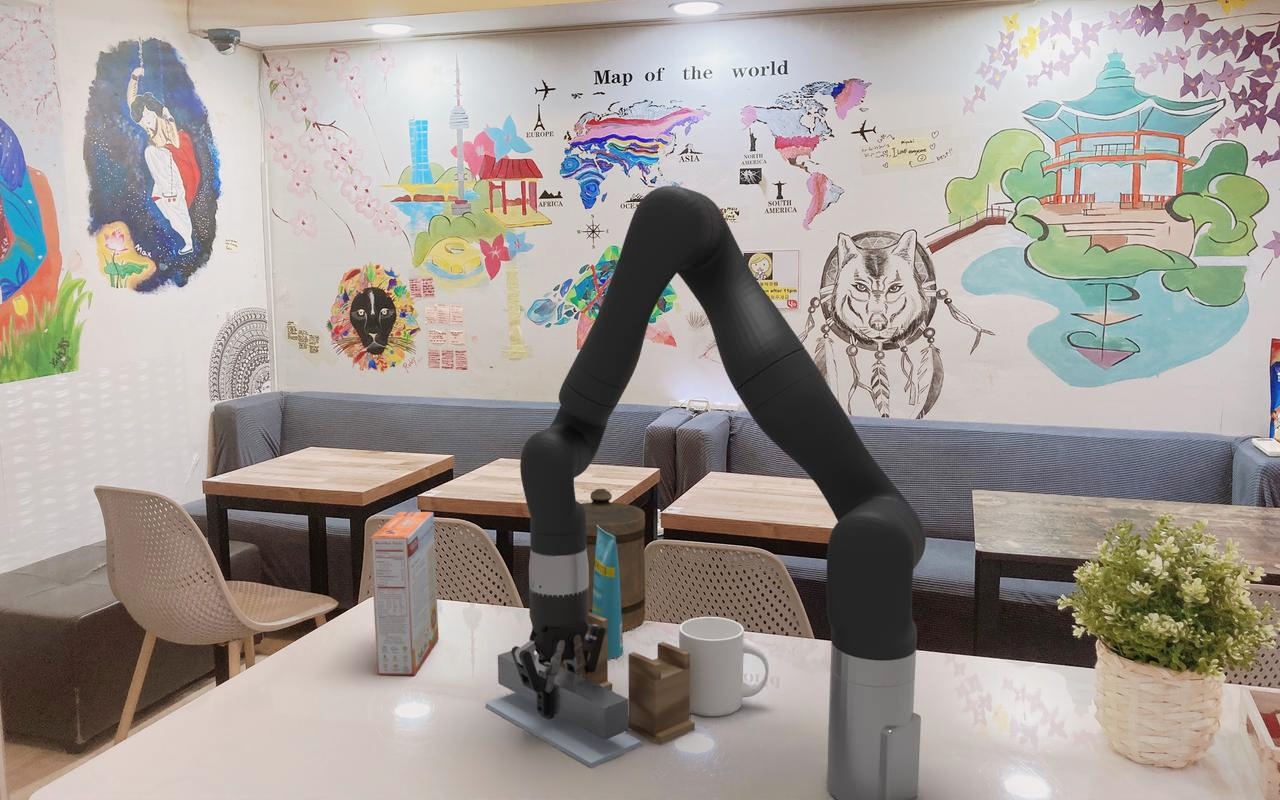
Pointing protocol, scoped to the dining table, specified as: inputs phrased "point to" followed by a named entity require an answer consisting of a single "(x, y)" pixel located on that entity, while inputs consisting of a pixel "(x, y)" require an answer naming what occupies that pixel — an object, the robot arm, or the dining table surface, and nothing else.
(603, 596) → the tube
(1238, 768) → the dining table surface
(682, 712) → the post
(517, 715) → the mat
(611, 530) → the wooden container
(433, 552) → the cracker box
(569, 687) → the rail
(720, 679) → the mug
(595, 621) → the post
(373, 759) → the dining table surface
